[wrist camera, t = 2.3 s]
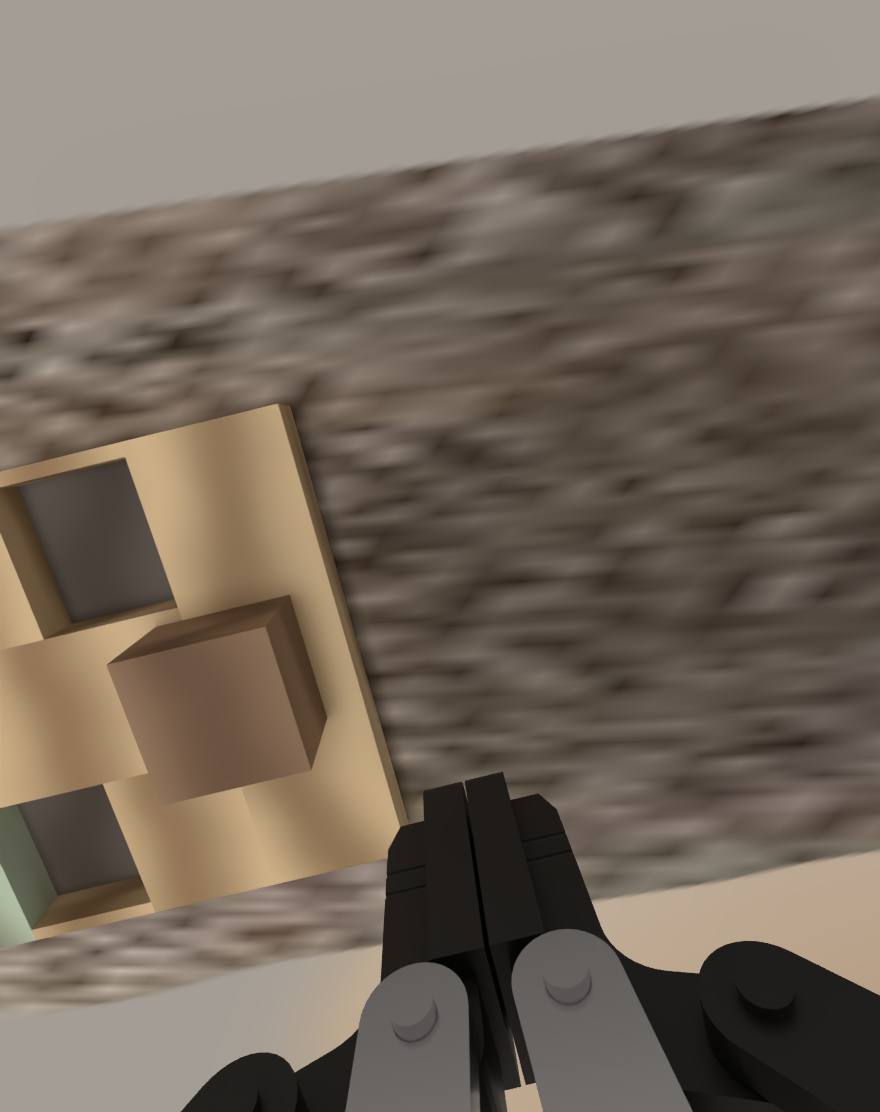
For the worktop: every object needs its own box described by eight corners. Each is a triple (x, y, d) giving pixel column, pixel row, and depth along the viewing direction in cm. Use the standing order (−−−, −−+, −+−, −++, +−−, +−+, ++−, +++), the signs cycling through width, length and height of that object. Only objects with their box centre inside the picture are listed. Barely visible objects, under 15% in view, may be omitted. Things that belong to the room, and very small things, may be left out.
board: (290, 405, 22) (269, 402, 19) (408, 821, 26) (407, 875, 23) (-255, 538, 22) (-364, 556, 19) (-57, 929, 26) (-121, 998, 23)
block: (289, 594, 21) (265, 626, 18) (327, 718, 22) (311, 770, 19) (155, 626, 21) (106, 664, 18) (199, 748, 23) (160, 806, 19)
